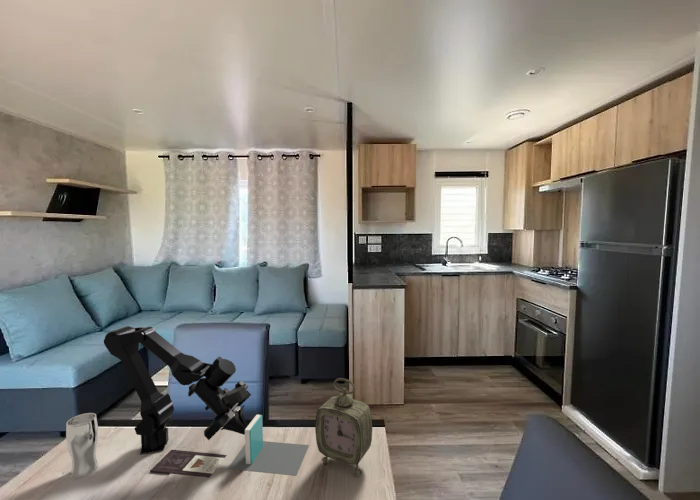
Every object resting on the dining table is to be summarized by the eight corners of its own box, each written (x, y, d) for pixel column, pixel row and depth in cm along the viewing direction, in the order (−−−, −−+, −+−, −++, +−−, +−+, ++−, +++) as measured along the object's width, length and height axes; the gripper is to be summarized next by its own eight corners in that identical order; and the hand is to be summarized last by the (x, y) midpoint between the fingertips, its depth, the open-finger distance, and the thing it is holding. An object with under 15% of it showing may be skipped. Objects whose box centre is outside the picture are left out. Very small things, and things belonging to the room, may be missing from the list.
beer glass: (73, 466, 96) (70, 415, 95) (103, 459, 99) (100, 410, 98) (64, 483, 90) (60, 428, 89) (96, 475, 93) (92, 422, 92)
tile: (245, 463, 96) (244, 429, 95) (257, 445, 104) (256, 414, 103) (251, 464, 96) (250, 430, 95) (263, 446, 104) (262, 415, 103)
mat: (227, 469, 94) (227, 468, 94) (248, 441, 107) (248, 439, 107) (296, 476, 91) (296, 475, 91) (309, 446, 104) (309, 445, 104)
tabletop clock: (315, 465, 96) (314, 379, 94) (332, 446, 104) (330, 367, 102) (361, 482, 89) (360, 390, 87) (375, 461, 97) (374, 376, 95)
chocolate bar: (171, 449, 102) (226, 454, 100) (171, 452, 103) (226, 458, 100) (149, 470, 94) (209, 477, 91) (150, 473, 94) (209, 480, 91)
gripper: (212, 393, 90) (252, 435, 89) (244, 365, 109) (277, 400, 108) (186, 419, 92) (226, 461, 91) (222, 387, 110) (255, 422, 109)
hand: (248, 433), depth 100 cm, fingers closed
